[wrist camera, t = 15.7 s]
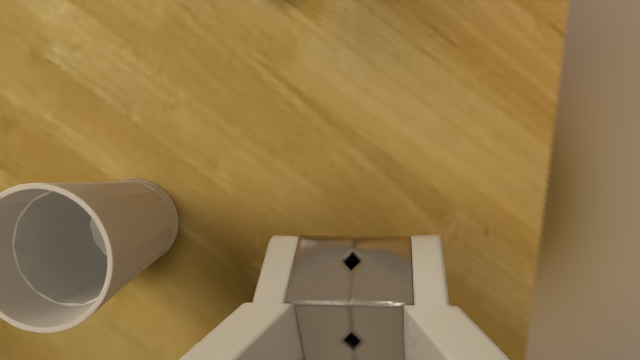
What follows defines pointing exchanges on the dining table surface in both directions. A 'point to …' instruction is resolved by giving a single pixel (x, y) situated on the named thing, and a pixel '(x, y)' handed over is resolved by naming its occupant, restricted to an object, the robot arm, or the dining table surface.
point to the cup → (77, 247)
